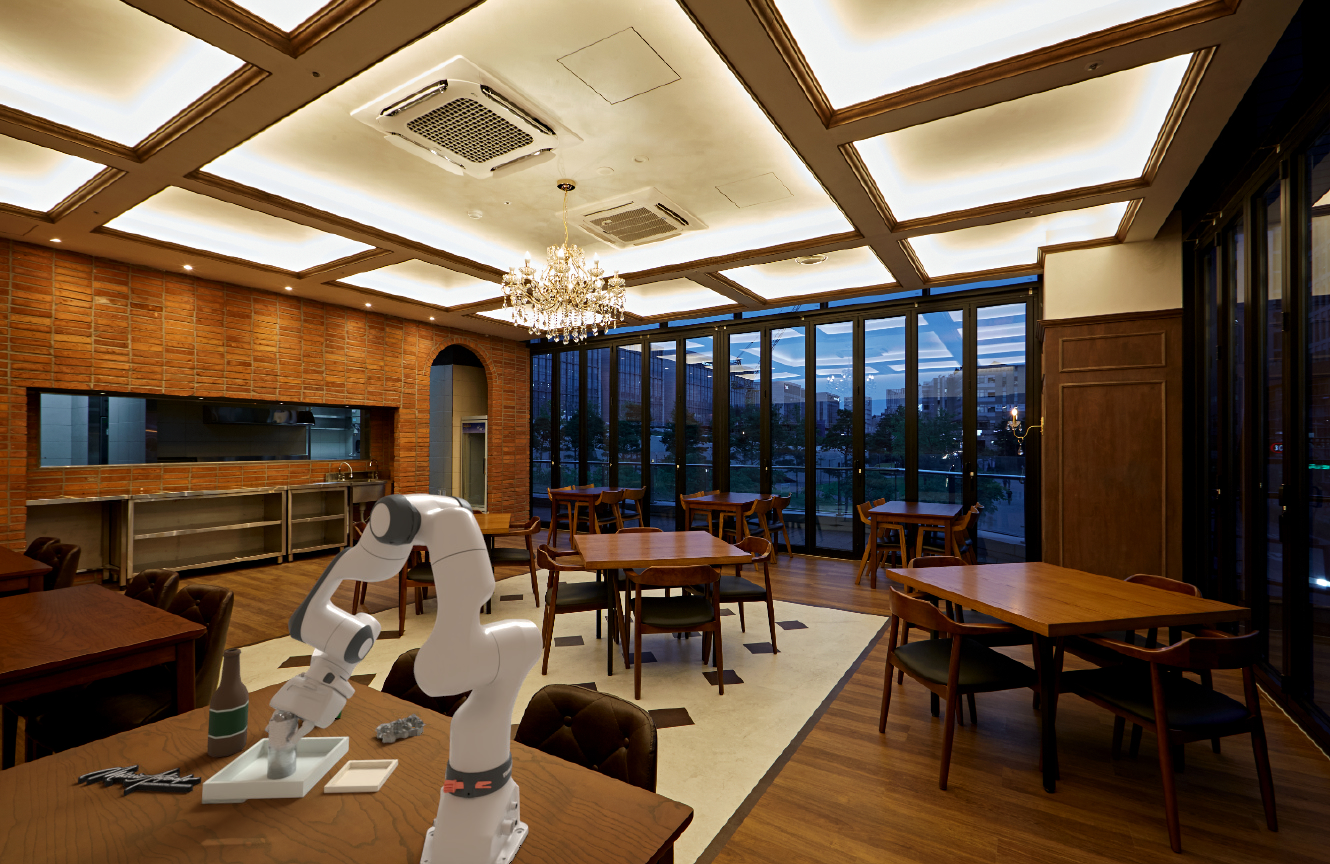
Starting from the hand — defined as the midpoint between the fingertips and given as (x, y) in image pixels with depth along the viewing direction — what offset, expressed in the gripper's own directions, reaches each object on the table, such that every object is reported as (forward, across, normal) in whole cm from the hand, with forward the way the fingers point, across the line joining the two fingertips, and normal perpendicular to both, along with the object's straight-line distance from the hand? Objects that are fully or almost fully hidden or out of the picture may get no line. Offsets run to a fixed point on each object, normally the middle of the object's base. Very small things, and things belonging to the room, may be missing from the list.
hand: (279, 737), depth 131 cm
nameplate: (+18, -24, -5) cm, 30 cm away
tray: (0, +18, +12) cm, 21 cm away
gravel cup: (+5, 0, +6) cm, 8 cm away
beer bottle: (+6, -24, +7) cm, 26 cm away
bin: (+6, 0, +7) cm, 9 cm away
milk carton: (-11, -22, +24) cm, 34 cm away
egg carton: (-12, +6, +26) cm, 29 cm away
